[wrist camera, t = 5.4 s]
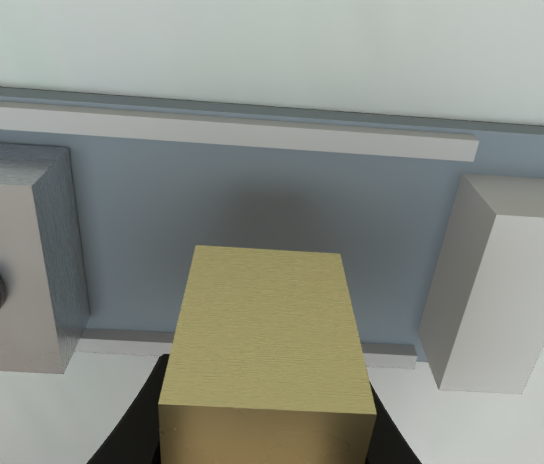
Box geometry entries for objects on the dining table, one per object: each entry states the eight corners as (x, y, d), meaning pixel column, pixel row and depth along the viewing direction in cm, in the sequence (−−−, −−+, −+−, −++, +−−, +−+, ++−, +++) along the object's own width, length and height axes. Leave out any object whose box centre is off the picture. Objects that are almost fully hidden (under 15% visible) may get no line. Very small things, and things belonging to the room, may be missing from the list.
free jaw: (90, 317, 20) (57, 387, 17) (-15, 311, 20) (-68, 381, 17) (68, 147, 17) (22, 195, 13) (-59, 139, 16) (-136, 186, 13)
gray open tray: (494, 349, 22) (535, 424, 19) (-20, 322, 22) (-75, 395, 18) (578, 128, 18) (655, 175, 14) (-83, 81, 17) (-176, 118, 13)
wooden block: (312, 418, 16) (329, 599, 11) (195, 413, 16) (167, 594, 11) (339, 253, 13) (377, 414, 8) (195, 245, 13) (158, 404, 8)
